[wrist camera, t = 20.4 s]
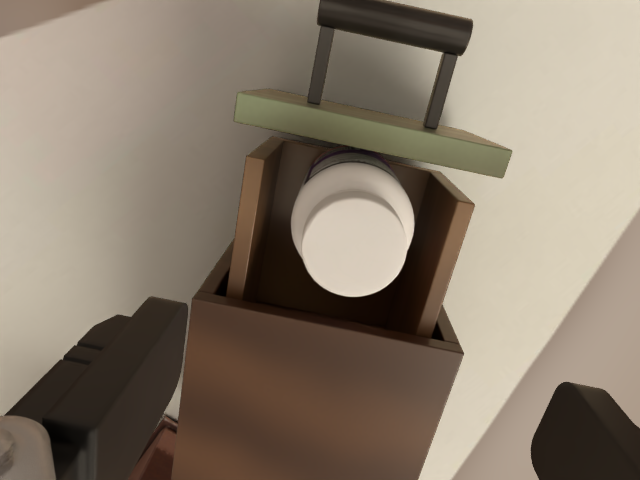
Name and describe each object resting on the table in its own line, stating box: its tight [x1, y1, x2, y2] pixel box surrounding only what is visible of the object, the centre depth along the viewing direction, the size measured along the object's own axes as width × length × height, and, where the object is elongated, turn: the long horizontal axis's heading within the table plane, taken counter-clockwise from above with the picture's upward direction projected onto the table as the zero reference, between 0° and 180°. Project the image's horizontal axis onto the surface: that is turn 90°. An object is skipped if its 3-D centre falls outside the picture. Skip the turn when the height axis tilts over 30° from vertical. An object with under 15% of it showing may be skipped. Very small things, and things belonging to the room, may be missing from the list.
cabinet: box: [171, 239, 464, 480], centre depth 27 cm, size 15×13×10 cm
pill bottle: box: [291, 145, 414, 297], centre depth 21 cm, size 5×5×10 cm
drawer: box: [226, 0, 512, 339], centre depth 23 cm, size 18×11×8 cm, turn 169°
